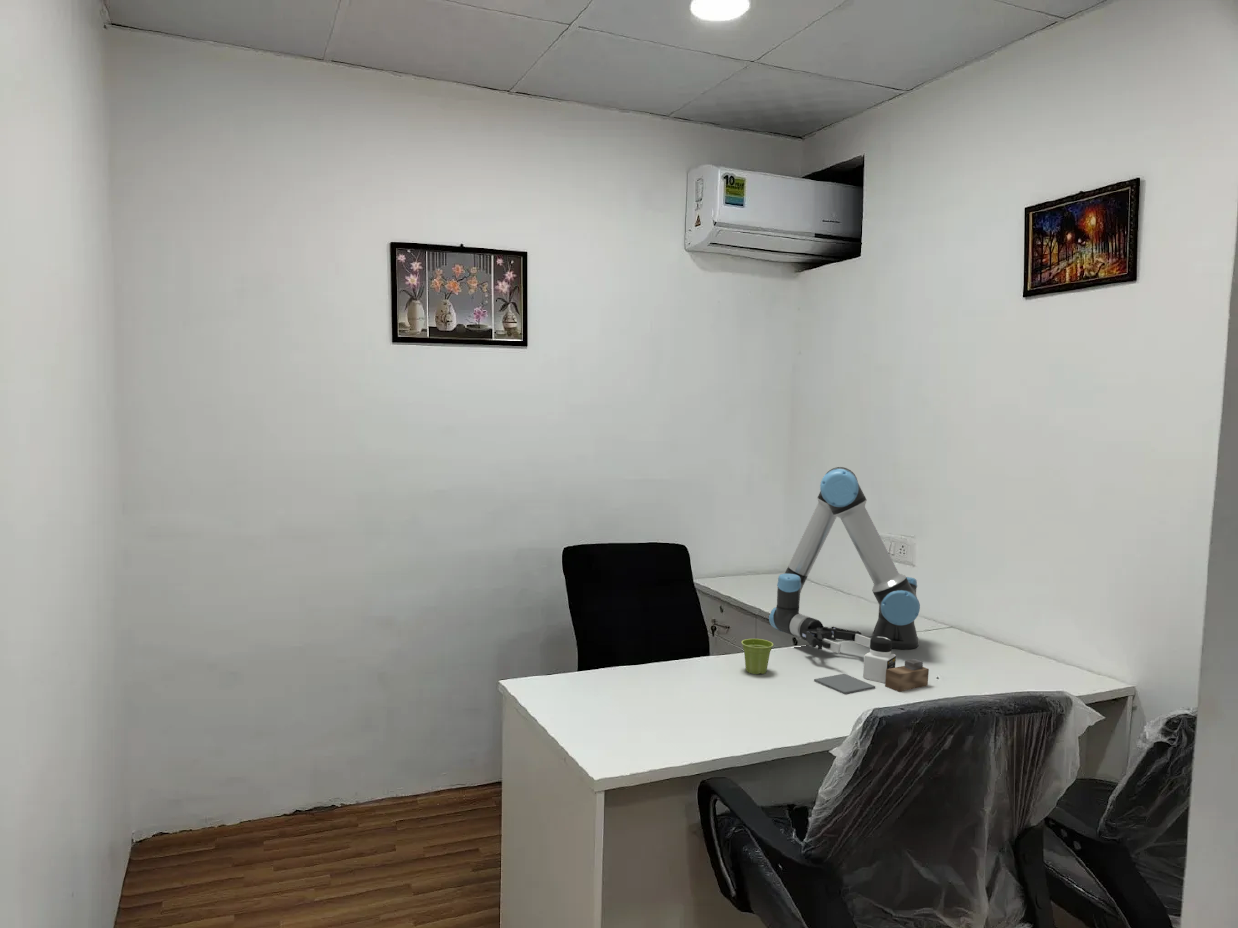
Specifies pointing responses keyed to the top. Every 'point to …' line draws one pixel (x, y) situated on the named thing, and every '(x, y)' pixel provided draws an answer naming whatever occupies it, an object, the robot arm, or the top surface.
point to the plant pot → (756, 655)
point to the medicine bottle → (878, 659)
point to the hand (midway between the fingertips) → (855, 646)
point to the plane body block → (907, 676)
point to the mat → (844, 683)
